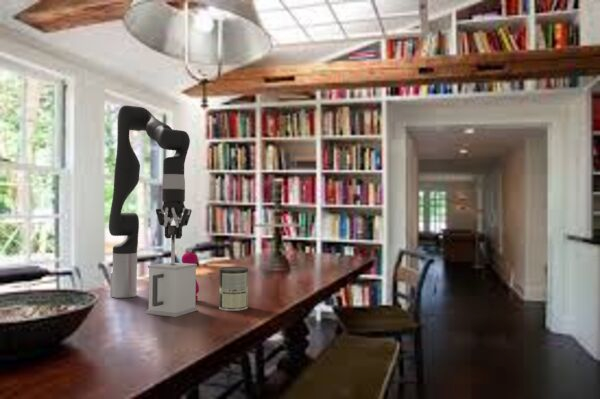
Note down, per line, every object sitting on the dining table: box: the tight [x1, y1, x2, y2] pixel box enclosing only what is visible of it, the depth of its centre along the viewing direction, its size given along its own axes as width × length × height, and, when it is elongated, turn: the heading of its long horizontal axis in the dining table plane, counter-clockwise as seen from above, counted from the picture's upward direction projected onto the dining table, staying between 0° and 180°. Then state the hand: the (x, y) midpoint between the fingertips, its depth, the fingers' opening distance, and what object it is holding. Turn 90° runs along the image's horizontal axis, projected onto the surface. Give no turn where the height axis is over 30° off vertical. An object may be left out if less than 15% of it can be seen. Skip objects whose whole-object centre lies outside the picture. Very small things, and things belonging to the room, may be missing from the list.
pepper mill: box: [181, 248, 200, 303], centre depth 195 cm, size 7×7×20 cm
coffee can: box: [218, 266, 249, 312], centre depth 182 cm, size 10×10×14 cm
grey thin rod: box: [168, 224, 177, 265], centre depth 175 cm, size 9×9×22 cm
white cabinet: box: [146, 261, 198, 318], centre depth 173 cm, size 12×16×16 cm
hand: (173, 238), depth 175 cm, fingers closed on grey thin rod, 3 cm apart
